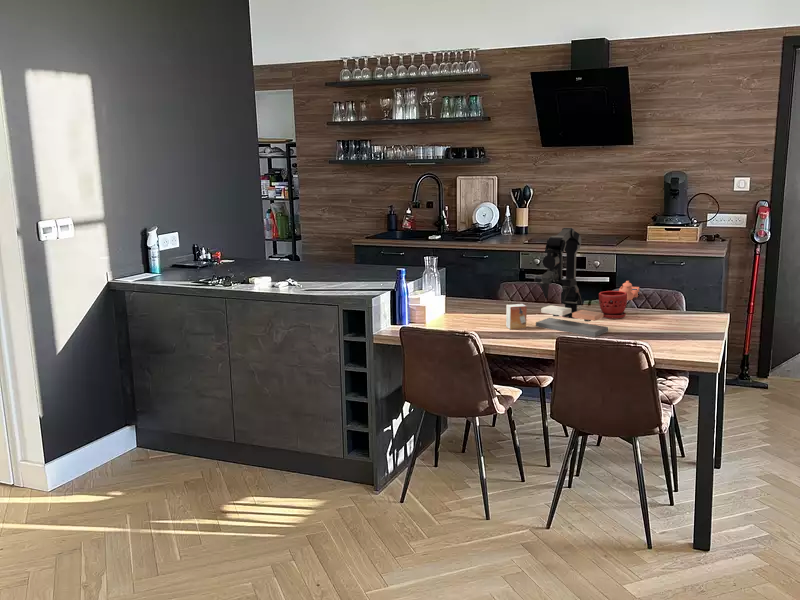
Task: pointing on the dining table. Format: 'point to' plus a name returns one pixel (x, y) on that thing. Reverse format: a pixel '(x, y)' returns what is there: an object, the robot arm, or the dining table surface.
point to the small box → (516, 316)
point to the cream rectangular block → (556, 310)
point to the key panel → (572, 326)
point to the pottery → (629, 290)
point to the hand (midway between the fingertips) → (554, 299)
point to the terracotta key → (587, 315)
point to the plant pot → (613, 304)
